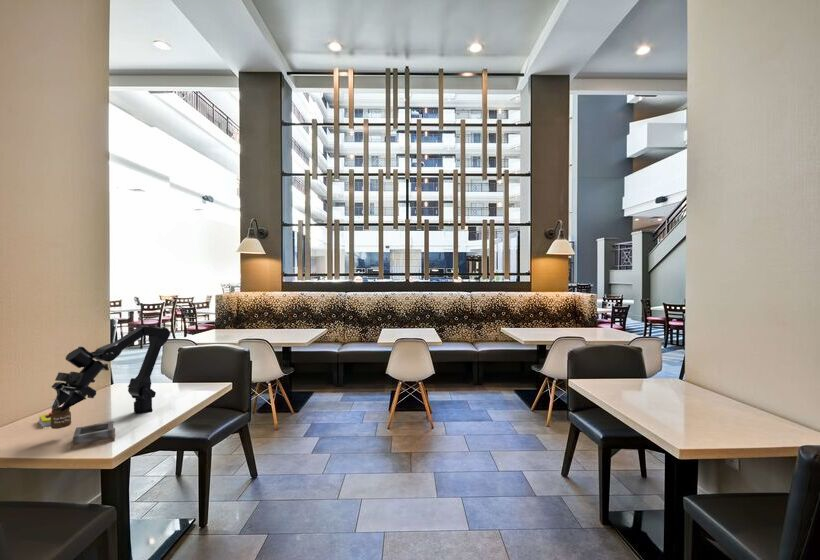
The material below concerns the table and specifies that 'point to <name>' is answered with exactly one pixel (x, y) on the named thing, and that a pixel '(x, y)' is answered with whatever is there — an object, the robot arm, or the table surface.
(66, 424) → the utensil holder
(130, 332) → the robot arm
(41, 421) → the emergency button
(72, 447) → the pocket plate
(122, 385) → the table surface
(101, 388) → the table surface
